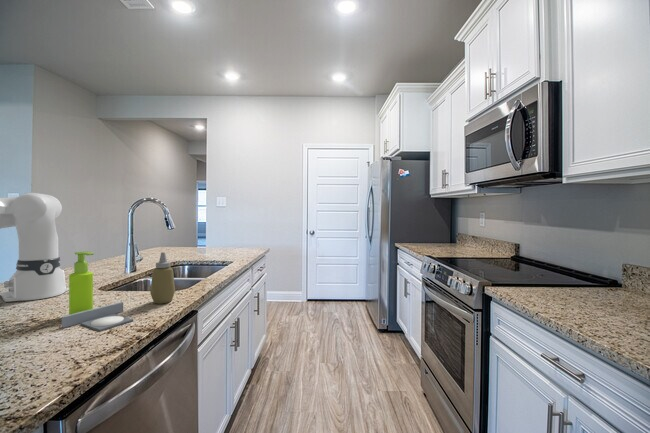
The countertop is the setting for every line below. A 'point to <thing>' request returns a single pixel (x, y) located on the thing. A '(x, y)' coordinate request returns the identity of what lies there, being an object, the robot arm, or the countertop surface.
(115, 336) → the countertop surface
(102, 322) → the mat
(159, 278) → the squeeze bottle
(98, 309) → the acrylic wall
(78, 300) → the soap dispenser
